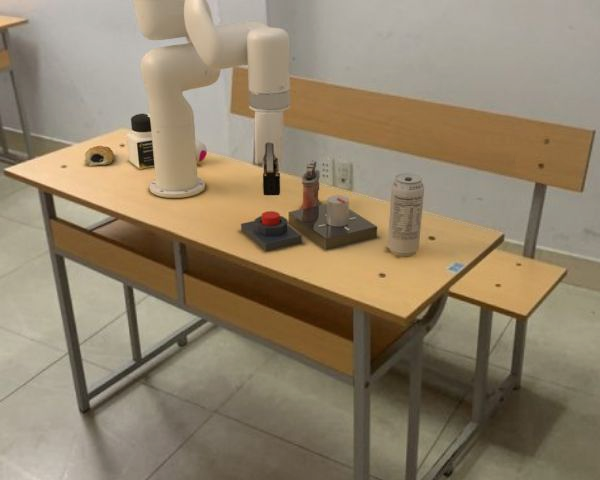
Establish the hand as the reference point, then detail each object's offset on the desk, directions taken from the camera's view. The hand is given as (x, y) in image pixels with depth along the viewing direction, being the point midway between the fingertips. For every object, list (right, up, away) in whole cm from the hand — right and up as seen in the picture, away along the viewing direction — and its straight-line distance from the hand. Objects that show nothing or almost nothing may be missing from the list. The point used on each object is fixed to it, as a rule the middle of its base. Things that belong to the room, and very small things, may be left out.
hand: (271, 193), depth 151 cm
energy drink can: (+25, -11, 0) cm, 28 cm away
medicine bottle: (-33, +13, +43) cm, 56 cm away
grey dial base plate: (+12, -6, +8) cm, 16 cm away
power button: (0, -5, +3) cm, 6 cm away
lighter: (+8, -1, +18) cm, 20 cm away
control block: (0, -8, +5) cm, 10 cm away
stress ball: (-21, +13, +43) cm, 50 cm away
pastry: (-45, +14, +44) cm, 64 cm away
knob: (+13, -5, +5) cm, 15 cm away
